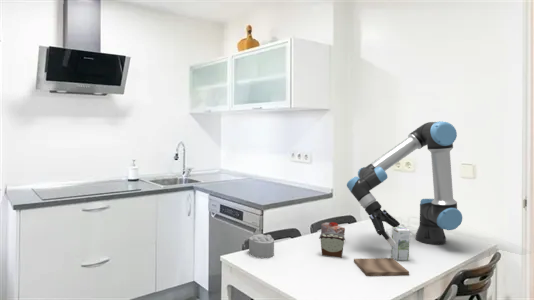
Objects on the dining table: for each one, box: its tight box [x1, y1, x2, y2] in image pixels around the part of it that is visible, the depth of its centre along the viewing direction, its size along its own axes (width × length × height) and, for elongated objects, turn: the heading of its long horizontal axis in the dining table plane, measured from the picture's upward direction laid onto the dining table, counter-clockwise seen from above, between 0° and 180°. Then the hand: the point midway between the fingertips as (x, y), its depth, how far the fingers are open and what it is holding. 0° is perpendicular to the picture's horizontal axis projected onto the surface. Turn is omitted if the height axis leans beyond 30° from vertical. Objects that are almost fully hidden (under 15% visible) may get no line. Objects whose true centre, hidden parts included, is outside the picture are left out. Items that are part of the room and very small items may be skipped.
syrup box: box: [390, 226, 411, 262], centre depth 168 cm, size 6×6×14 cm
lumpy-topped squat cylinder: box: [248, 233, 275, 259], centre depth 173 cm, size 10×13×9 cm
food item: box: [320, 221, 346, 236], centre depth 196 cm, size 14×8×10 cm, turn 33°
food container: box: [318, 233, 346, 259], centre depth 172 cm, size 12×6×10 cm, turn 71°
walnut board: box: [353, 257, 410, 277], centre depth 156 cm, size 18×16×2 cm
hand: (399, 241), depth 167 cm, fingers open, 13 cm apart
